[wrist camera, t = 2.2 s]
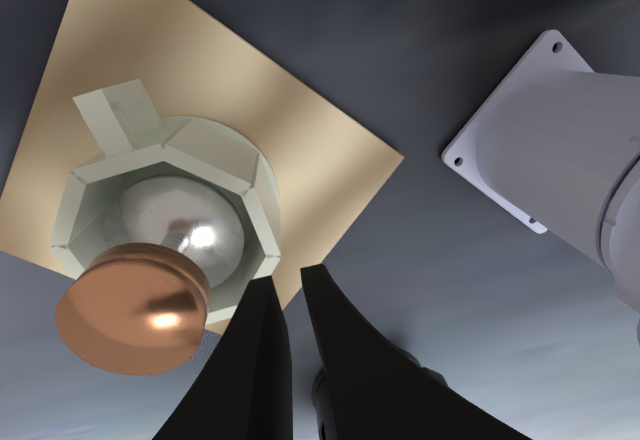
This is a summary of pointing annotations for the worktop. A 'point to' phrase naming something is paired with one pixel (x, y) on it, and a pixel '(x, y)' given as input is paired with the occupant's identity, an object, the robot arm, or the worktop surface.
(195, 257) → the plunger
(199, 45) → the serving board
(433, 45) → the worktop surface
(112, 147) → the faceted mug
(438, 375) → the french press
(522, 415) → the worktop surface
